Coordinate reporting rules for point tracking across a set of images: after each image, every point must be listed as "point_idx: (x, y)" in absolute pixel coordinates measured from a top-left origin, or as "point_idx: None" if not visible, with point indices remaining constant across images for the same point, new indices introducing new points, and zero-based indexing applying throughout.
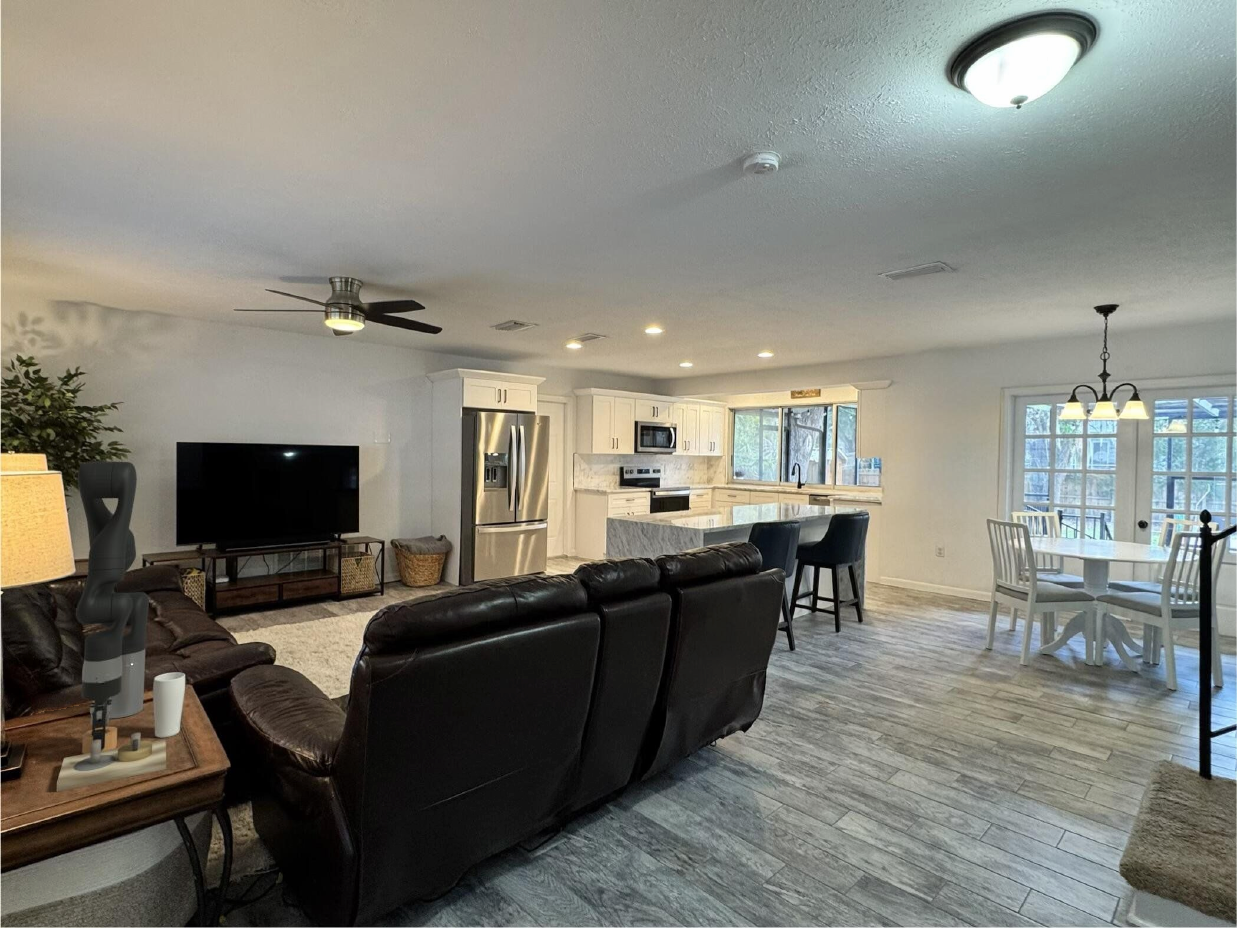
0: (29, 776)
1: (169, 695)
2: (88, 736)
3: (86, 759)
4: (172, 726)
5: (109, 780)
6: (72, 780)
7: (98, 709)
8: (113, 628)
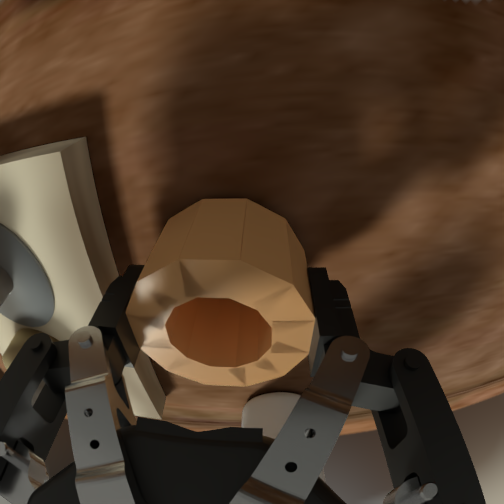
0: (40, 24)
1: None
2: (167, 288)
3: (20, 251)
4: None
5: None
6: None
7: (9, 499)
8: None
